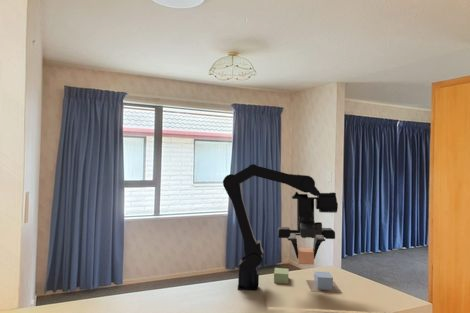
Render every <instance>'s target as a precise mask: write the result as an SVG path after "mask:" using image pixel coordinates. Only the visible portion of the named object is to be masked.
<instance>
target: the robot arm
mask: <svg viewBox="0 0 470 313" xmlns="http://www.w3.org/2000/svg"><path fill="white" fill-rule="evenodd" d="M252 177H257V178H258V177H259V178H262V179H265V180H270V181H273V182H277V183H281V184H284V185H287V186H290V187H292V188H294V189H296V190H298V191H300V192H302V193H299V192H298V191H294V192H295V193H294V194H292V196H291V199H293V200H296V202H297V203H296V229H291V228H290V227H288V226H279V227H278V228H277V236H278V237H277V238H280V239H287V241H291V244H292V246H293V251H294V252H295V257H296V259H297V260H298V240H297V236H300V237H301V238H303V239H306V238H309V239H310V238H311V239H313V247H312V248H313V251H314V260H315V259H316V256H317V252H318V250H319V248H320V246H321V244H322V243H323V242H326V239H327V240H335V239H336V232H335V231H334V229H333V228H331V227H323V223H322V222H320V221H318V222H317V221H316V222H315V210H318V212H319V213H327V214H328V213H329V214H331V213H332V214H333V213H334V214H336V213H338V210H339V209H338V207H339V206H338V205H339V203H338V200H337V193H336V192H320V190H318V188H317V187H316V182H315V179H314V178H313V177H312V176H310V175H304V174H294V173H293V174H291V173H287V172H282V171H279V170H275V169H270V168H267V167H264V166H259V165H257V164H249V166H247V167H245V168H244V169H242V170H240V171H238V172H236V173H235V174H233V173H232V174H227V175H225V177H224V179H223V180H222V185H223V187H224V190H225V192H226V193H227V195H228V198H230V201H231V203H232V207H233V210H234V213H235V216H236V219H237V223H238V226H239V230H240V232H241V233H240V234H241V236H242V240H243V252H244V253H243V254H244V256H242V258H240V260H239V263H238V281H237V282H238V284H237V290H246V291H247V290H248V291H249V290H251V291H257V290H258V287H259V282H260V281H259V280H260V279H259V277H260V275H259V272H258V268H257V267H258V266H260V265H261V263H262V262H263V256H264V249H263V247H262V240H261V239H258V240H257V239H256V237H255V235H254V231H253V229H252V226H251V223H250V219H249V216H248V215H249V214H248V211H247V208H246V205H245V202H244V198H243V186H242V184H243V183H244V182H246V181H248V180H249V179H251V178H252ZM308 193H309V194H310V195H312V196H309V194H308Z"/></svg>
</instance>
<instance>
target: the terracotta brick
mask: <svg viewBox="0 0 470 313" xmlns="http://www.w3.org/2000/svg"><path fill="white" fill-rule="evenodd" d="M297 248H298V259H297V264H298V265H307V266H308V265H311V266H312V265H313V266H314V264H315V259H314V251H313V247H302V246H301V247H298V246H297Z"/></svg>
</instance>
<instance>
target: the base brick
mask: <svg viewBox="0 0 470 313" xmlns="http://www.w3.org/2000/svg"><path fill="white" fill-rule="evenodd" d="M313 273H314V274H313V278H314V283H315V285H316V287H317V289H320V290H333V281H334V277H333V276H332V274H331V272H330V271H321V270H319V271H318V270H317V271H316V270H315V271H314V272H313Z"/></svg>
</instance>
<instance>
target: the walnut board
mask: <svg viewBox="0 0 470 313" xmlns="http://www.w3.org/2000/svg"><path fill="white" fill-rule="evenodd" d="M305 281H306V283H307V285H308V288H309V289H310V292H312V293H331V294H332V293H333V294H343V292H342V290H341V289H340V287H338V286H339V285H337V284H336V282H335V281H334V280H333V290H320V289H317V287H316V285H315V283H314V280H310V279H306V280H305Z"/></svg>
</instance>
